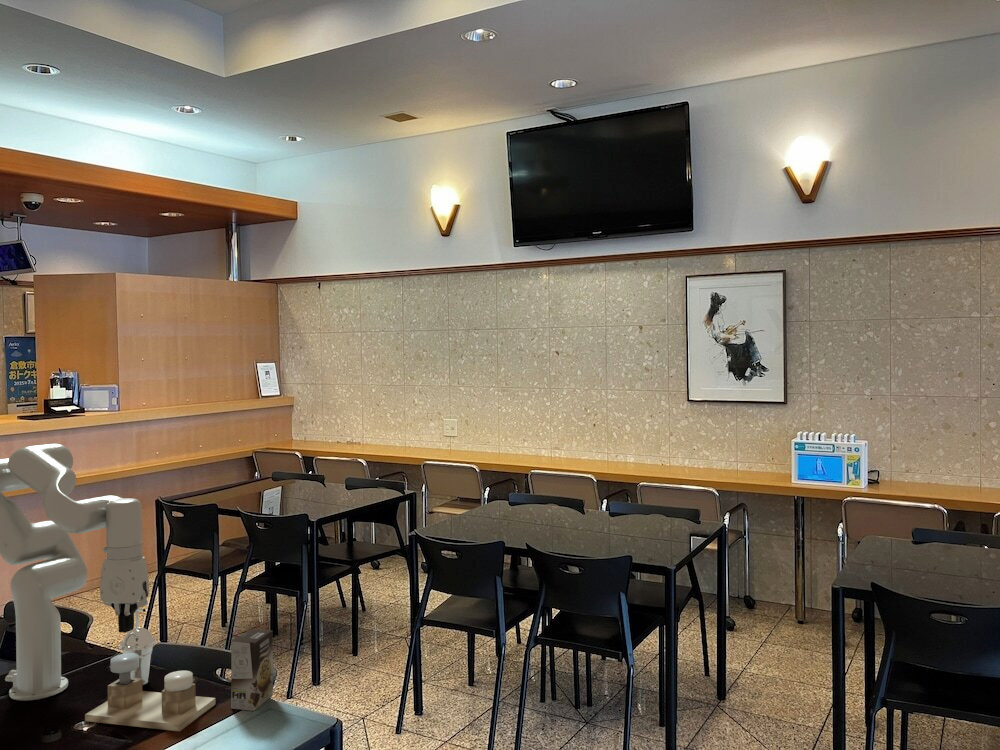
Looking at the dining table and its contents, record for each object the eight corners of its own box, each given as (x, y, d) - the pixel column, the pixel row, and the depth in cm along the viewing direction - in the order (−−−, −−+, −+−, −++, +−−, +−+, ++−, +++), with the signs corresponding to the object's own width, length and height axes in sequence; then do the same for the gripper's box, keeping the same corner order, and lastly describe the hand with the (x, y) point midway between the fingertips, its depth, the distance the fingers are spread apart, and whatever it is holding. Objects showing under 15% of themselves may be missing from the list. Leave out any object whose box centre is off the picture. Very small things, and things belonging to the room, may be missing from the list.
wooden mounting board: (85, 721, 178) (84, 692, 178) (126, 695, 192) (126, 668, 192) (179, 731, 173) (179, 702, 173) (215, 704, 187) (215, 677, 187)
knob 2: (159, 712, 179) (158, 679, 179) (175, 701, 185) (174, 669, 185) (182, 714, 178) (182, 681, 178) (198, 703, 184) (197, 671, 183)
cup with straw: (158, 674, 205) (158, 598, 204) (153, 688, 196) (152, 608, 196) (123, 678, 202) (122, 600, 202) (116, 692, 194) (115, 611, 193)
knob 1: (104, 693, 182) (104, 661, 182) (122, 683, 188) (122, 652, 187) (127, 696, 180) (127, 663, 180) (144, 685, 186) (144, 654, 186)
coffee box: (255, 711, 183) (255, 642, 183) (230, 709, 185) (229, 640, 184) (274, 695, 192) (274, 629, 192) (250, 693, 193) (249, 627, 193)
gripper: (85, 555, 181) (86, 634, 181) (142, 557, 178) (144, 638, 178) (107, 547, 189) (109, 624, 189) (163, 549, 186) (164, 627, 186)
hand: (126, 630), depth 184 cm, fingers closed
